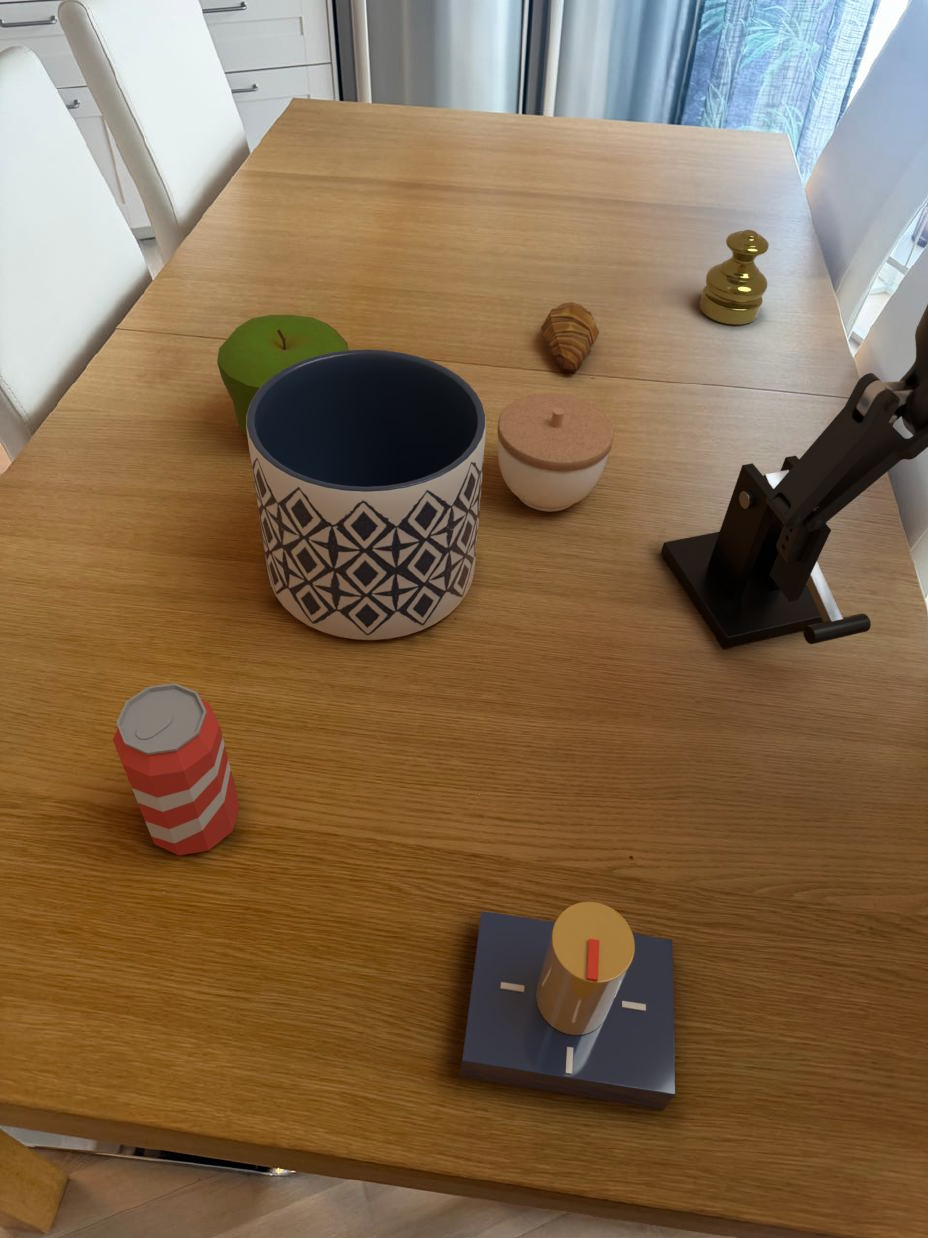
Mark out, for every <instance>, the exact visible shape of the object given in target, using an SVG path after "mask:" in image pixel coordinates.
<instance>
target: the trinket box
mask: <svg viewBox="0 0 928 1238" xmlns="http://www.w3.org/2000/svg"><path fill="white" fill-rule="evenodd" d="M496 432H497V444H496V445H497V447H496V448H497V449H496V451H497V452H496V453H497V461H498V467H499V472H500V473H501V476H502V479H503V481H504V483H505V484H506V487H508V489H509V490H510V491H511V493H512V494H514V495H515V496H516V497H517V498H518V499H519V500H520V502H522V503H523V504H524V505H526V506H527V507H529V508H531V509H533V510H536V511H542V512H550V513H551V512H552V513H553V512H559V511H563V510H566V509H569V508H570V507H571V506H573V505H575V504H577V503H579V502H580V501H583V500H584V499H585V498H587V496H589V495H590V494H591V493H592V492H593V490H594V489H595V488H596V486H597V485H598V484H599V482H600V480H601V478H602V476H603V474H604V472H605V469H606V468H607V463H608V461H609V456H610V451H611V449H612V447H613V443H614V439H615V430H614V426H613V423H612V421H611V420H610V418H609V416H607V414H606V412H604V411H603V410H601V408H599V407H598V406H596V405H595V404H593V403H591V402H589V401H587V400H584V399H583V398H580V397H576V396H572V395H569V394H563V393H553V392H551V393H549V392H544V393H534V394H530V395H526V396H523V397H520V398H518V399H515V400H514V401H512V402H511V403H509V404H508V405H507V406H506V407H505V408H504V409H503V410H502V411H501V412H500V415H499V417H498V419H497V431H496Z"/></svg>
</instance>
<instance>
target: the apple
mask: <svg viewBox="0 0 928 1238" xmlns="http://www.w3.org/2000/svg"><path fill="white" fill-rule="evenodd" d="M346 350H350V349H349V344H348V341H346V339H345V338H344V337H343V336H342V335H341V334H340V333H339V331H337V329H335V328H334V327H333V326H331V325H330V324H329V323H328V322H327V323H326V322H324V321H322V320H320V319H317V318H314V317H313V316H312V317H311V316H304V315H295V314H267V315H263V316H256V317H252V318H249V319H248V320H247V321H245V322H244V323H242V324H240V325H238V326H237V327H236V328H235V329H234V330H233V331H232V333H231V334H230V335H229V336H228V338H227V339H226V340H225V341H223V343H222V345H221V346H220V347H219V348H218V354H217V360H216V364H217V368H218V370H219V374H220V377H221V380H222V382H223V385H224V386H225V389H226V390H227V393H228V394H229V397H230V399H231V402H232V404H233V405H232V406H233V409H234V412H235V415H236V416H235V417H236V419H237V420H236V421H237V424H238V428H240V430H241V431H242V432H243V433H244V435H245V436H246V437H247V429H246V415H247V412H248V408H249V405H250V403H251V401H252V399H253V397H254V396H255V394H256V392H257V391H258V390H259V389H260V388H261V387H262V385H263V384H264V383H265V382H266V381H268V380H269V379H270V378H271V377H273V376H274V375H275V374H277V373H278V372H280V371H282V370H283V369H285V368H287V367H288V366H291V365H293V364H295V363H298V362H300V361H302V360H305V359H308V358H311V357H315V356H318V355H322V354H327V353H332V352H338V351H346Z"/></svg>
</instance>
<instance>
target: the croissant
mask: <svg viewBox="0 0 928 1238" xmlns="http://www.w3.org/2000/svg"><path fill="white" fill-rule="evenodd" d="M540 329H541V332H542V335H543V338H544V340H545V341H546V343H547V345H548V349H549V351H550V353H551V356H552V359H554V362H555V363H556V365H557V366H558V368H559V369H560V371H561V372H562V373H564V374H567V375H572V374H576V373H577V371H579V370H580V368H581V366H582V365H583V363H584V362H585V360H586V359H587V358H588V356H589V355H590V354H591V352H592V347H593V345H594V344H595V343H596V341H597V338H598V337H599V335H600V331H599V328H598V326H597V323H596V321H595V319H594V317H593V315H592V312H591V311H588V309H586V308H585V307H584V306H583V305H582V304H579V303H576V302H573V301H571V302H565V303H563V302H562V303H561V304H560V305H558V306H557V307H555V308H551V310H550V311H549V313H548V315H547V317H546V318H545V320H544V321H543V323H542V325H541V326H540Z"/></svg>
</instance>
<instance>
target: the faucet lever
mask: <svg viewBox="0 0 928 1238" xmlns="http://www.w3.org/2000/svg"><path fill="white" fill-rule="evenodd" d="M788 472H789V470H784V471H780V470H779V471H774V472H769V473H768V472H767V473H764V474H763V476H764V478H765V479H766V480H767V481H768V482H769V484H770V485H771V486H772V487H773V488H775V487H776V486H777V485H778V484H779V482H780V481H781V480H782V479H783V478H784V477H785V475H786V474H787V473H788ZM775 516H776V517H777V519H778V521H779V523H780V526H781V528H782V529H783V527H784V524H783V523H782V521H781V520H780V519H779V518H778V516H777V515H776V514H774V516H773V517H775ZM806 584H807V586H808V589H809V591H810V593H811V595H812V598H813V600H814V602H815V604H816V607H817V609H818V611H819V613H820V616H821V618H822V620H823V622H822V623H817V624H813V625H808V626H806V627H805V628H804V631H802V633H803V638H804V640H805V641H806V643H807V644H809V645H815V644H819V643H824V642H827V641H832V640H837V639H840V638H845V637H849V636H853V635H857V634H862V633H866V632H868V631H870V629H871V625H872V623H871V620H870V619H871V618H870V617H869V616H868V615H867V614H866V613H863V612H862V613H861V612H860V613H857V614H852V615H848V616H844V617H843V615H842V613H841V611H840V608H839V606H838V603H837V602H836V600H835V597H834V595H833V593H832V591H831V588H830V585H829V584H828V582H827V580H826V578H825V575H824V573H823V570H822V568H821V566H820V564H819V562H818V561H817V562H816V564H815V566H814V568H813V570H812V573H811V575H810V577H809V579H808V581H807V583H806Z"/></svg>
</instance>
